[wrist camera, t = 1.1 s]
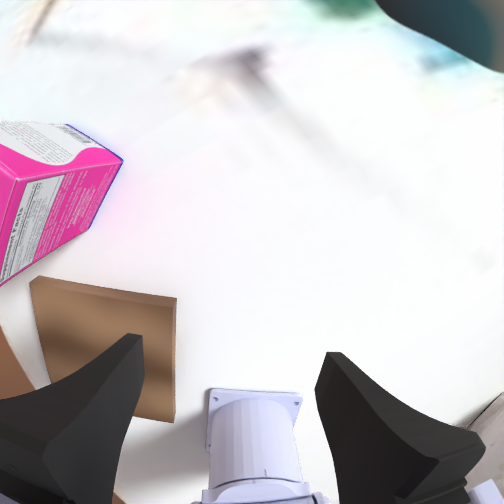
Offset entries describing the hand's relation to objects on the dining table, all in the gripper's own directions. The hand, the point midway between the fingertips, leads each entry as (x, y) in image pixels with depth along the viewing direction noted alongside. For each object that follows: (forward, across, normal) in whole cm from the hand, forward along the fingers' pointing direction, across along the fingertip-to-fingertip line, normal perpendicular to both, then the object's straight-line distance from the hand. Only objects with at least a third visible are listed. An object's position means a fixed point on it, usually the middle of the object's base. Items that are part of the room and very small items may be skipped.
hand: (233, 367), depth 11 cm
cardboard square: (+11, +10, +9) cm, 17 cm away
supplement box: (+11, +12, -5) cm, 17 cm away
